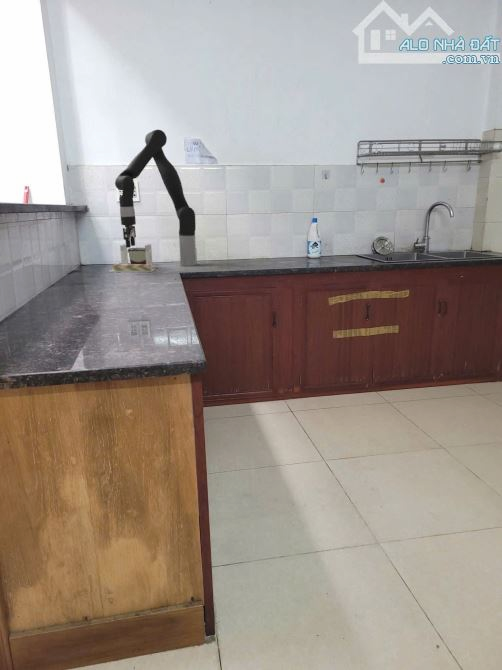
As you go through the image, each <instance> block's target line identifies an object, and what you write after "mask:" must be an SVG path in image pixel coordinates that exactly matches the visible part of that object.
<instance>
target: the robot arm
mask: <svg viewBox="0 0 502 670" xmlns="http://www.w3.org/2000/svg"><path fill="white" fill-rule="evenodd" d="M167 139H168V138H167V135H166V133H165V131H163V130H161V129H155V130H152V131H150V132H148V133H147V134H146V135H145V138H144V142H145V146H144V147H143V148H142V150H140V151H139V152H138V153H137V155H135V156H134V158H133V159H132V160H131V162H130V163H129V164H128V165H127V167H126V168H125V169H124V170H122V172H121V173H120V174H119V175H118V176H117V177H116V179H115V182H114V184H115V187H116V189H118V190H119V191H122V194H121V195H120V196H119V199H118V200H119V207H120V208H119V214H120V216H119V217H120V223H121V226H124V227H122V236H123V240H125V245H126V247H127V249H129V248H132V247H134V246H136V237H137V234H136V226H135V225H137V223H136V220H137V219H136V211H135V207H134V206H135V205H134V194H135V181H134V179H137V178H139V176H140V175H141V174H142V172H143V171H144V170H145V168H146V166H147V165H148V164H149V162H151V160H152V159H153V161H154V164H155V165H156V168H157V170H158V173H159V175H160V177H161V179H162V182H163V185H164V187H165V189H166V191H167V193H168V195H169V197H170V199H171V201H172V204H173V207H174V208H175V213H176V216H177V219H178V222H179V223H178V226H179V228H178V238H179V239H178V240H179V257H180V259H179V262H180V266H184V267H192V266H197V265H198V261H197V260H198V258H197V255H198V254H197V246H196V228H197V227H196V213H195V210H194V209H193V208H192V207H190V206H189V204H188V202H187V200H186V197H185V194H184V189H183V185H182V181H181V178H180V176H179V173H178V171H177V169H176V167H175V166H174V165H173V164H172V163H171V162H170V161H169V160H168V158H167V157H166V155H165V153H164V150H163V147H165V145H166V144H167Z"/></svg>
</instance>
